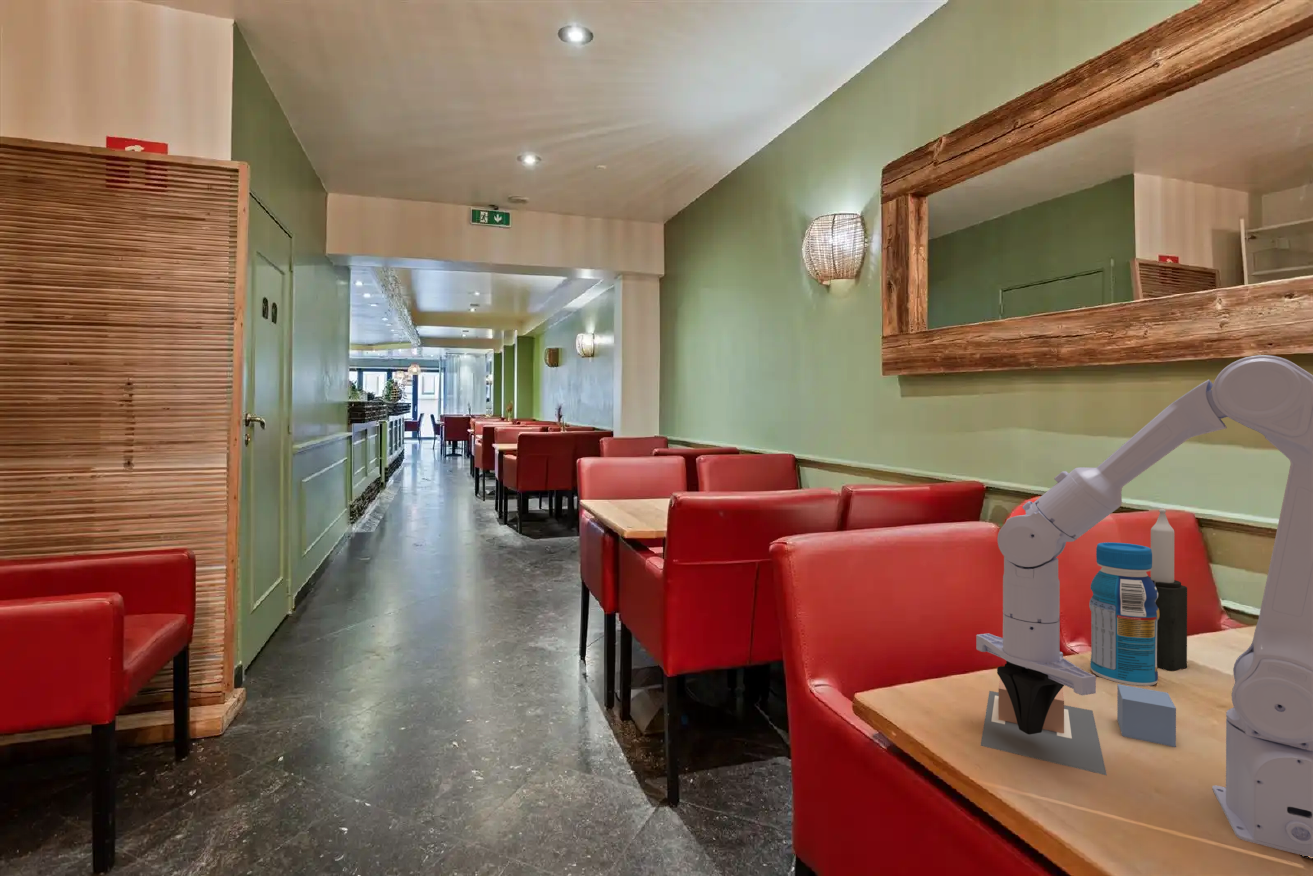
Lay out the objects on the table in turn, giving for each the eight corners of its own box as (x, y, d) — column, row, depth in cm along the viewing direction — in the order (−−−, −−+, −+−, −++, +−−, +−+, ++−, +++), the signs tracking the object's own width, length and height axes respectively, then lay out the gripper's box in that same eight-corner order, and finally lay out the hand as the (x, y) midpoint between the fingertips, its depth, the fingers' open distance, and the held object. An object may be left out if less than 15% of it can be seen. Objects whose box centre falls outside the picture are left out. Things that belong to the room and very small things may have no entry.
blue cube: (1175, 750, 71) (1176, 708, 71) (1122, 739, 74) (1122, 698, 74) (1167, 733, 76) (1167, 692, 76) (1117, 723, 78) (1117, 684, 78)
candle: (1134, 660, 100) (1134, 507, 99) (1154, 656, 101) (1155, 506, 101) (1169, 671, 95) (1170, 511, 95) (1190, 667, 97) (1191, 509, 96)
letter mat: (1106, 778, 65) (1106, 775, 65) (980, 748, 72) (980, 745, 72) (1092, 712, 81) (1092, 710, 81) (989, 692, 87) (989, 690, 87)
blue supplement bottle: (1078, 673, 94) (1078, 543, 94) (1105, 663, 98) (1106, 539, 98) (1142, 693, 87) (1143, 553, 87) (1170, 681, 91) (1170, 547, 91)
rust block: (1063, 733, 75) (1064, 700, 75) (998, 719, 78) (998, 688, 78) (1061, 711, 80) (1061, 681, 80) (1000, 699, 84) (1000, 670, 84)
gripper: (1117, 632, 66) (1117, 757, 66) (1007, 597, 80) (1006, 700, 80) (1066, 638, 64) (1066, 766, 64) (963, 601, 78) (962, 707, 78)
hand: (1030, 731), depth 72 cm, fingers closed
